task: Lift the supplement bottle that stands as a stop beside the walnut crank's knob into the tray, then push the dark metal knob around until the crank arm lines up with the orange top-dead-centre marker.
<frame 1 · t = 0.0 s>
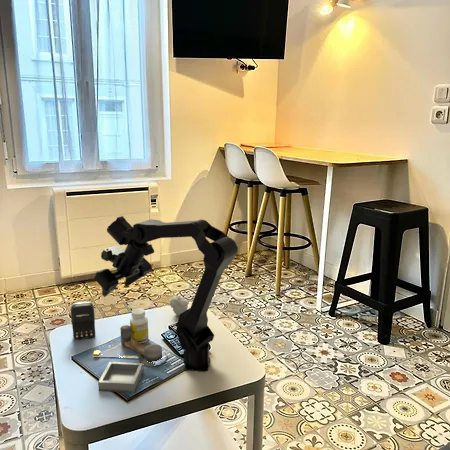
hand: (114, 290, 133), 15 cm above the table, tool tilted 35°, fingers open, 9 cm apart
crank: (140, 342, 126), point 3 cm above the table, hinge at -35.0°
tray: (121, 380, 113), on the table
supplement bottle: (139, 340, 133), on the table
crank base: (153, 358, 123), on the table
battery charger: (84, 338, 134), on the table
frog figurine: (179, 315, 150), on the table
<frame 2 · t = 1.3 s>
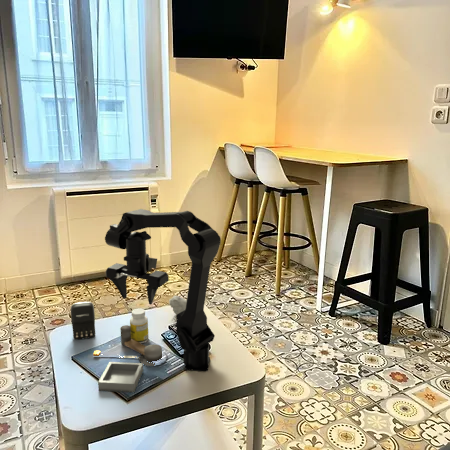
hand: (137, 301, 130), 13 cm above the table, tool pointing down, fingers open, 9 cm apart
nothing on the table moved.
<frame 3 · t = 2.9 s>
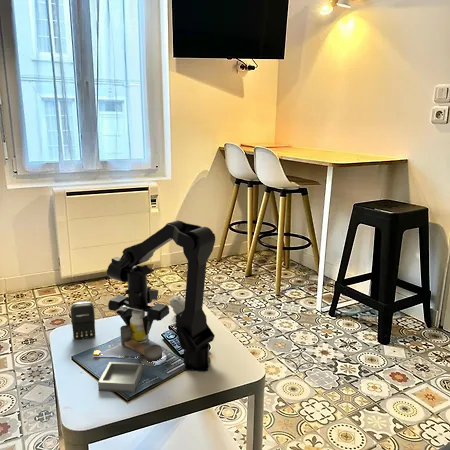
hand: (139, 332, 133), 3 cm above the table, tool pointing down, fingers closed on supplement bottle, 5 cm apart
supplement bottle: (139, 340, 133), on the table, touching gripper
everything else where it was.
when the fingers open (5 cm above the table, at t = 7.4 s): supplement bottle drops 1 cm, resting on tray.
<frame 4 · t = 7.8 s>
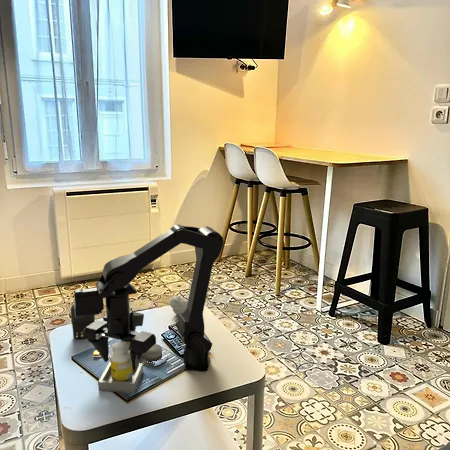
hand: (121, 365, 112), 5 cm above the table, tool pointing down, fingers open, 9 cm apart
supplement bottle: (122, 379, 113), resting on tray
everything else where it was.
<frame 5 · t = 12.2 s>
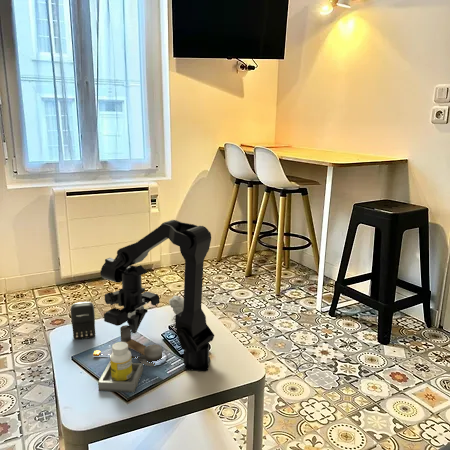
hand: (134, 332, 133), 3 cm above the table, tool pointing down, fingers closed
crank: (140, 342, 126), point 3 cm above the table, hinge at -34.8°, touching gripper
everything else where it was.
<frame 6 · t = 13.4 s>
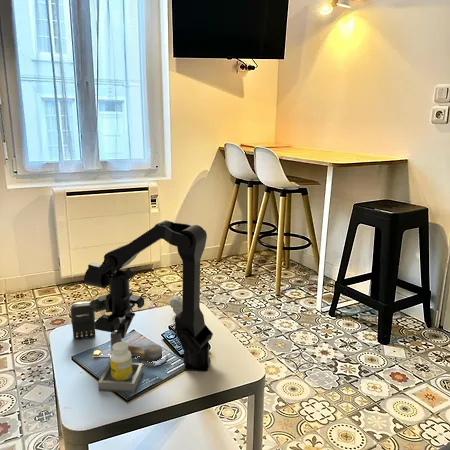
hand: (122, 337, 129), 3 cm above the table, tool pointing down, fingers closed
crank: (135, 345, 124), point 3 cm above the table, hinge at -14.6°, touching gripper
everything else where it was.
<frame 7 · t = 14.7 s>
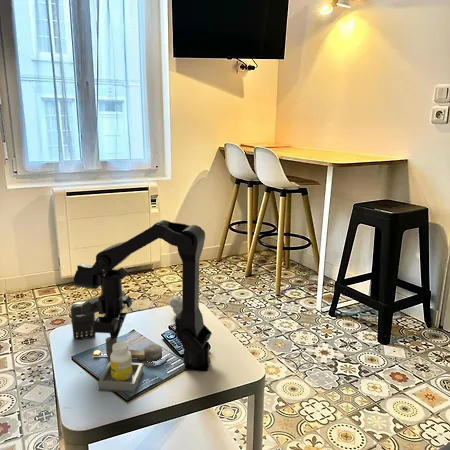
hand: (114, 339, 126), 4 cm above the table, tool pointing down, fingers closed
crank: (134, 347, 123), point 3 cm above the table, hinge at 0.6°
everything else where it was.
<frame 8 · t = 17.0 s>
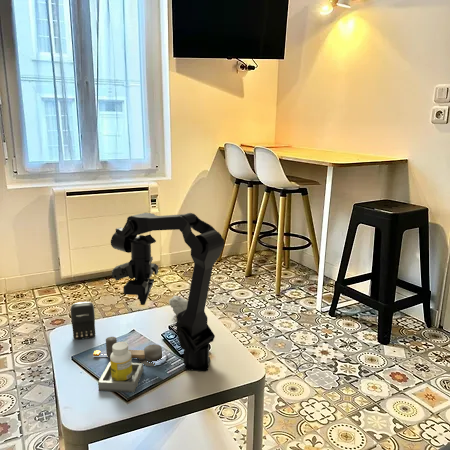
hand: (143, 304, 130), 12 cm above the table, tool pointing down, fingers closed
nothing on the table moved.
at the end: supplement bottle 0.1 cm off-centre on the tray, point 0.4 cm above the tray's base; supplement bottle tilted 0°; crank at +1° (first picture: -35°) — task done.
